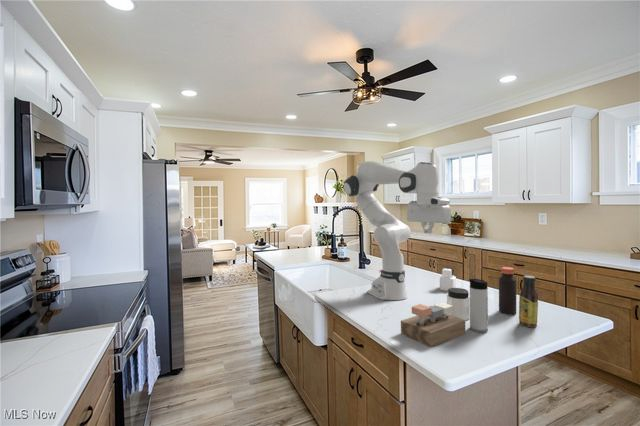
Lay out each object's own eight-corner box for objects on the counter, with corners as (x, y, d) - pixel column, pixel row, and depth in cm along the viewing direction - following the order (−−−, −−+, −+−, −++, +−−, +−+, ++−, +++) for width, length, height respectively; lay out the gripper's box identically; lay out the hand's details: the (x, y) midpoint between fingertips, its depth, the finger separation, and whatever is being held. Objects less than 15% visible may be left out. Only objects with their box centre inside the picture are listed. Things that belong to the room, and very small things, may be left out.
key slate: (423, 327, 122) (423, 308, 122) (431, 324, 125) (431, 305, 124) (434, 331, 118) (434, 311, 117) (442, 328, 120) (442, 309, 120)
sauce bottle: (515, 322, 130) (515, 274, 129) (530, 321, 130) (531, 274, 129) (525, 328, 124) (525, 278, 123) (541, 328, 123) (541, 278, 123)
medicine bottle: (443, 287, 184) (442, 266, 184) (456, 288, 180) (455, 267, 179) (439, 290, 178) (439, 268, 178) (453, 291, 174) (452, 270, 174)
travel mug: (465, 326, 126) (465, 277, 126) (481, 326, 127) (481, 276, 126) (474, 333, 120) (474, 281, 119) (491, 332, 121) (491, 280, 120)
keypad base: (401, 333, 122) (400, 320, 121) (434, 321, 132) (434, 310, 132) (431, 347, 110) (431, 333, 110) (465, 333, 121) (465, 320, 120)
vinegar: (500, 314, 139) (500, 269, 138) (497, 309, 146) (497, 266, 145) (518, 315, 137) (518, 270, 136) (514, 310, 143) (514, 267, 142)
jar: (460, 323, 130) (460, 294, 130) (443, 317, 137) (443, 290, 137) (473, 318, 135) (473, 290, 135) (455, 312, 142) (455, 286, 142)
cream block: (434, 323, 125) (434, 304, 125) (442, 320, 128) (442, 302, 128) (445, 327, 121) (445, 308, 121) (453, 324, 124) (453, 305, 124)
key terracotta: (411, 326, 118) (411, 306, 118) (420, 323, 121) (420, 304, 121) (422, 330, 114) (422, 310, 114) (431, 327, 117) (431, 307, 116)
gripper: (403, 200, 140) (403, 232, 141) (443, 200, 123) (443, 235, 123) (413, 200, 143) (413, 231, 144) (453, 200, 126) (453, 234, 127)
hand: (427, 233), depth 133 cm, fingers closed
